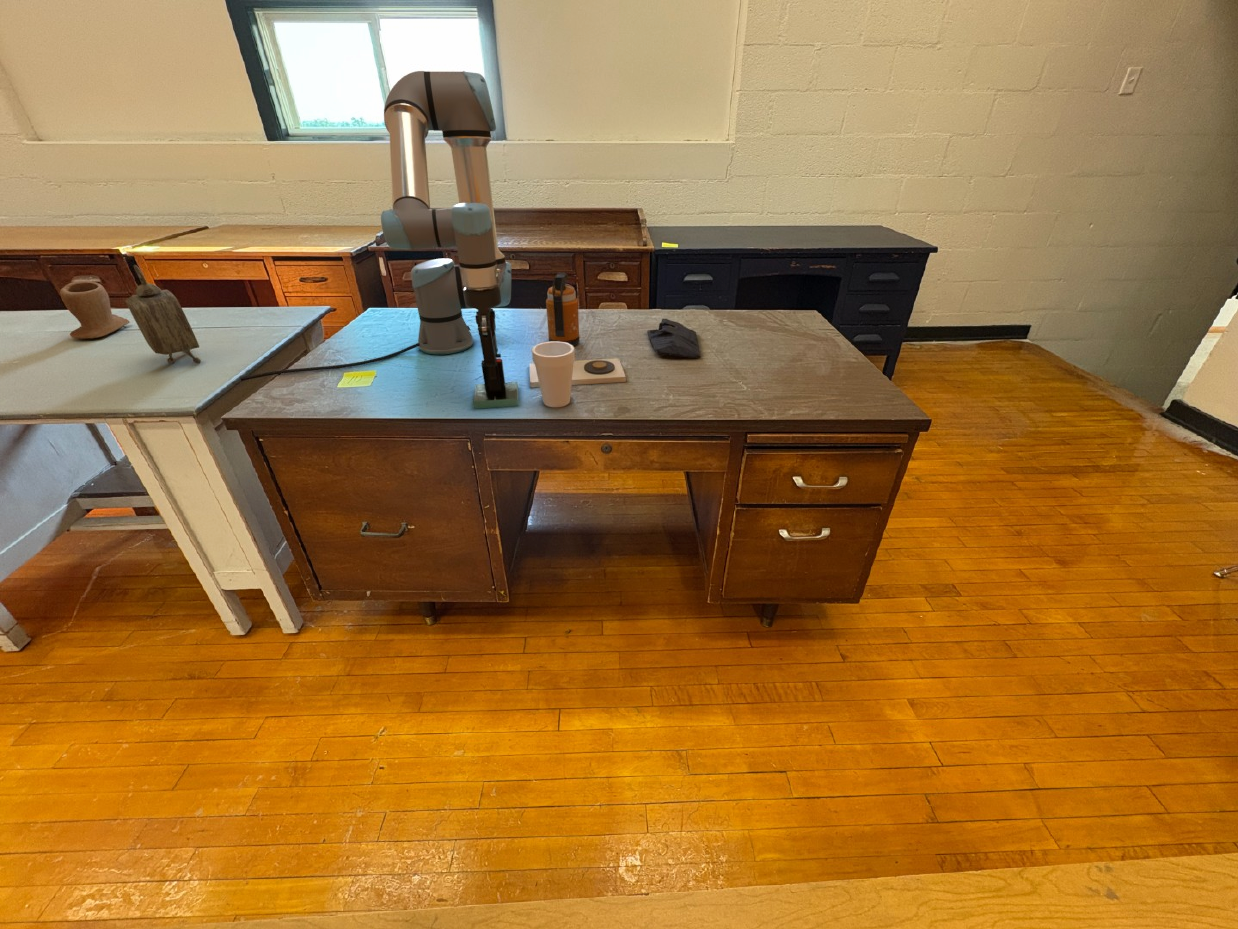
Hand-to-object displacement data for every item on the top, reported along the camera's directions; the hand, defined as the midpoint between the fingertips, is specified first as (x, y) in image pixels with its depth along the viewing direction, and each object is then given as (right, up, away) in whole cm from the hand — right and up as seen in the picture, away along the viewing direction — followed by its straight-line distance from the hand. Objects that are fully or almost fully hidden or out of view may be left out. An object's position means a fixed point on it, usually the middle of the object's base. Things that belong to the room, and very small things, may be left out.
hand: (495, 387), depth 122 cm
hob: (+18, +5, +13) cm, 23 cm away
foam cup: (+14, -3, +1) cm, 15 cm away
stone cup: (-128, +22, +37) cm, 135 cm away
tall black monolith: (0, -1, +1) cm, 1 cm away
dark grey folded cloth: (+45, +17, +31) cm, 57 cm away
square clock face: (0, -2, +2) cm, 3 cm away
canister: (+13, +17, +31) cm, 38 cm away
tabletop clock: (-90, +10, +19) cm, 93 cm away
